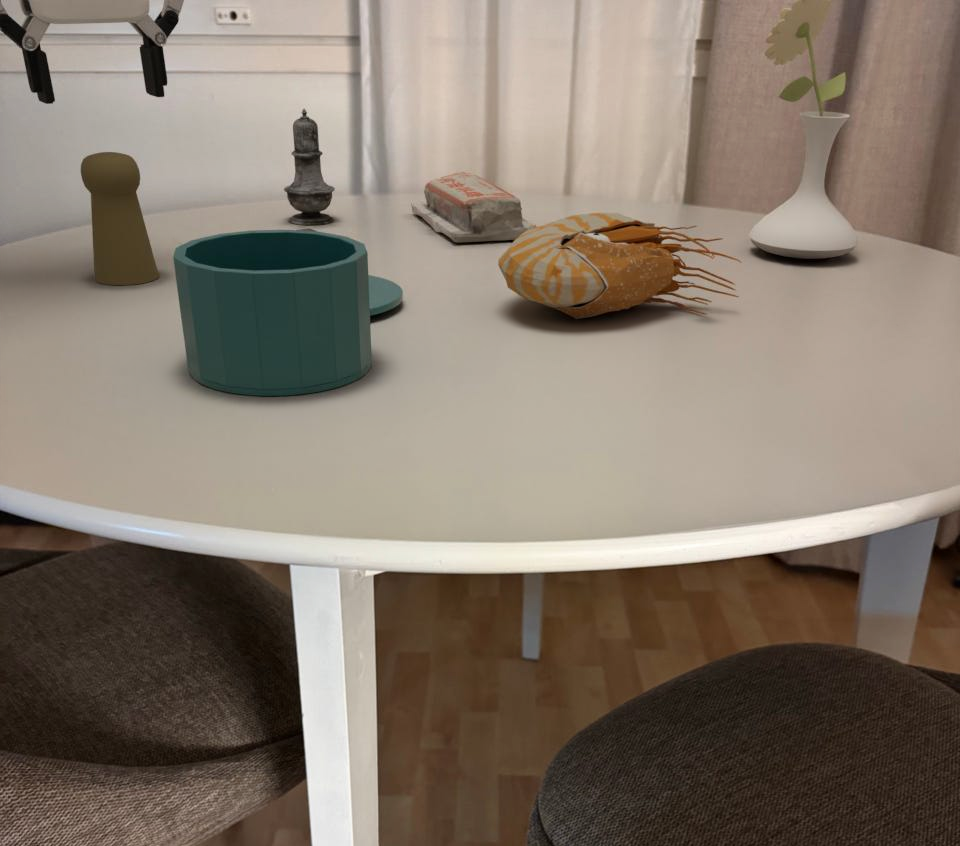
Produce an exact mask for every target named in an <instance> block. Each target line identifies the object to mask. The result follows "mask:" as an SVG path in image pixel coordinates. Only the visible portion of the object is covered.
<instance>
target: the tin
mask: <svg viewBox="0 0 960 846" xmlns="http://www.w3.org/2000/svg"><path fill="white" fill-rule="evenodd" d="M315 231H316V230H315ZM315 231H300V229H260V230H259V229H255V230H254V229H253V230H252V229H251V230H244V231H234V232H225V233H224V232H223V233H218V234H213V235H209V236H203V237H200V238H196V239H191V240H189V241H187V242H185V243H183V244H181V245H178V246H177V247H175V249H174V253H173V256H172V257H173V258H172V260H173V267H174V274H175V283H176V289H177V297H178V304H179V312H180V318H181V325H182V326H181V327H182V334H183V341H184V347H185V356H186V363H187V368H188V369H189V374H190V376H191V378H193V380H195V381H196V382H197V383H199V384H200V385H202V386H205V387H207V388H210V389H213V390H216V391H220V392H224V393H230V394H234V395H235V394H237V395H242V396H243V395H245V396H257V397H283V396H284V397H285V396H298V395H299V396H300V395H306V394H312V393H313V394H314V393H320V392H324V391H329V390H333V389H337V388H340V387H343V386H346V385H348V384H352V383H353V382H355V381H357V380H358V379H361V378H362V377H363V376H365V375H366V374H367V373H368V372H369V370H370V368H371V365H372V364H371V362H372V357H373V356H372V334H371V332H372V330H371V316H370V305H369V280H368V275H369V259H368V258H369V257H368V256H369V255H368V250H367V248H366V245H365V243H363V242H361V241H358V240H356V239H353V238H351V237H349V236H346V235H341V234H335V233H329V232H323V231H317V232H315Z"/></svg>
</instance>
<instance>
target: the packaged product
mask: <svg viewBox="0 0 960 846" xmlns="http://www.w3.org/2000/svg"><path fill="white" fill-rule="evenodd" d="M423 194H424V197H425V198H424V199H425V200H426V202H424V201H422V202H419V203H418V204H416V203H412V202H411V203H410V205H411V212H412V214H415V215H417V216H419V217H420V218H422V219H423V220H424V221H425V222H427V224H429V226H431V227H432V229H433V231H434V232H435V233H442V234H443V235H445V236H446V237H448V238H449V239H451V240H452V241H453V242H454V243H457V244H464V243H481V242H497V241H499V242H501V241H514V240H515V239H516V238H518V237H519V236H520V235H521V234H523V233H524V232H526V231H527V230H529V229H531V228H534V227H537V225H536V224H533V223H532V222H531V221H529V220H526V219H525V218H524V217H523V213H522V210H523V209H522V203H521V199H520V198H518V197H516V196H515V195H514V194H512V193H510V192H508V191H507V190H504V189H502V188H501V187H499V186H497V185H495V184H493V183H491V182H489V181H488V180H486V179H483V178H482V177H480V176H479V175H476V174H473V173H470V172H465V171H461V172H455V173H452V174H449V175H443V176H440V177H439V178H434V179H433V180H431V181H429V182H426V184H425V186H424V190H423Z"/></svg>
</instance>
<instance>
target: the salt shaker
mask: <svg viewBox="0 0 960 846" xmlns="http://www.w3.org/2000/svg"><path fill="white" fill-rule="evenodd" d="M300 112H301V114H302V116H300V117H299V118H297V119H296V120H294V121H293V123H292V134H293V135H292V136H293V148H294V149H293V150H292V151H291V153H290V154H291V156H293V157H294V158H293V159H294V179H293V182H292V183H291V184H290V185H287V186H285V187H284V188H283V191H284V192H286V198H287V200H288V202H289V205H290V206H291V207H292V208H293V209H294V210H295V211H298V212H299V213H295V214H293V215H292V216H290V217H289V219H288V222H289V223H291V224H293V225H299V226H322V225H328V224H331V223H334V221H335V220H334V218H333V217H332V216H331V215H330V214H328V213H325V212H324V213H322V212H323V211H325V210H327V209H328V208H329V206H330V205H331V203H332V199H333V192H334V191H335V189H336V188H335V187H334V186H332V185H329V184H327V182H325V180H324V177H323V173H322V165H321V164H322V163H321V157H322V155H323V154H324V153H323V152H322V151H321V150H320V144H319V143H320V141H319V127H318V123H317V122H316V121H315V120H314V119H312V118H310V117H309V116H308V115H307V114H308V112H307V110H306V109H305V108H303V109H302V110H301V111H300Z"/></svg>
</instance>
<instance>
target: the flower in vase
mask: <svg viewBox="0 0 960 846" xmlns="http://www.w3.org/2000/svg"><path fill="white" fill-rule="evenodd" d="M832 6H833V3H832V0H794V2H793V3H792V5H791V8H790V7H785V8H783V9H782V10H781V12H780V14H779V19H780V20H778V22H776V24H774V25H773V26H772V28H771V31H770V33H769V34H768V35H767V37H766V38H765V43H766V44H770V45H769V47H767V49H765V51H764V56H766V58H767V59H768V60H769V61H772V60H774V62H773V65H775V66H778V65H781V66H783V65H785V64H786V63H788V62H792V61H794V60H795V59H796V58H797V56H798V55H799V56H802V55H803V54H804V53H806V52H807V50H808V53H809V57H810V64H811V75H812V79H810V78H809V77H808V76H800V77H798V78H796V79H793V80H792V81H790V82H789V83H788V84H787V85H786V86H784V88H783V89H782V90H781V92H780V94H779V96H778V98H779V99H781V100H784V101H786V102H790V103H795V102H797V101H800V100H801V99H802V98H803V97H804V96H805V95H806V94H808V92H809V91H811V89H812V87H813V89H814V93H815V98H816V102H817V107H818V110H817V111H816V110H812V111H811V110H810V111H801V112H798V116H799V118H800V120H801V122H802V125H803V128H804V134H805V157H804V167H803V173H802V176H801V180H800V183H799V186H798V188H797V190H796V191H795V193H794V194H793V195H792V196H790V197H789V199H787V200H786V201H784V202H783V203H782V204H781V205H779V206H778V207H776V208H775V209H773V210H772V211H770V212H769V213H768V214H766V215H765V216H764V217H762V218H761V219H760V220H759V221H758V222H757V223H756V224H755V225H754V226H752V229H751V230H750V233H749V235H748V237H749V240H750V242H751V244H753V245H754V246H755V247H757V248H759V249H760V250H762V251H764V252H766V253H770V254H773V255H776V256H781V257H785V258H794V259H803V260H804V259H805V260H806V259H807V260H816V259H817V260H818V259H819V260H820V259H828V258H835V257H836V258H837V257H840V256H843V255H845V254H849V253H850V252H852V251H854V249H856V247H857V246H858V244H859V241H858V234H857V232H856V231H855V230H854V228H853V226H852V224H850V222H849V221H848V220H847V219H846V218H845V216H843V214H842V213H841V212H840V211H839V210H838V209H837V208H836V206H834V204H833V203H832V202H831V200H830V199H829V197H828V196H827V193H826V189H825V178H826V172H827V167H828V162H829V158H830V153H831V150H832V147H833V144H834V142H835V139H836V138H837V137H836V136H837V134H838V133H839V131H840V129H841V128H842V127H843V125H844V124H845V123H846V122H847V120H848V119H849V118H850V116H851V115H850V114H848V113H845V112H844V113H843V112H838V111H837V112H836V111H824V109H823V104H822V102H825V101H828V100H832V99H834V98H838V97H840V96H842V95H843V94H844V92H845V90H846V82H847V81H846V77H847V76H846V72H845V71H844V72H842V73H840V74H838V75H837V76H835V77H833V78H831V79H829V80H827V81H825V82H822V83H821V84H819V85H818V81H817V73H816V72H817V71H816V61H815V54H814V50H813V45H812V44H813V43H814V42H815V41H816V39H817V37H818V36H820V34H821V33H822V32H823V31H824V26H823V25H824V24H825V23H826V21H827V20H828V18H829V13H830V11H831V8H832Z"/></svg>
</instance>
